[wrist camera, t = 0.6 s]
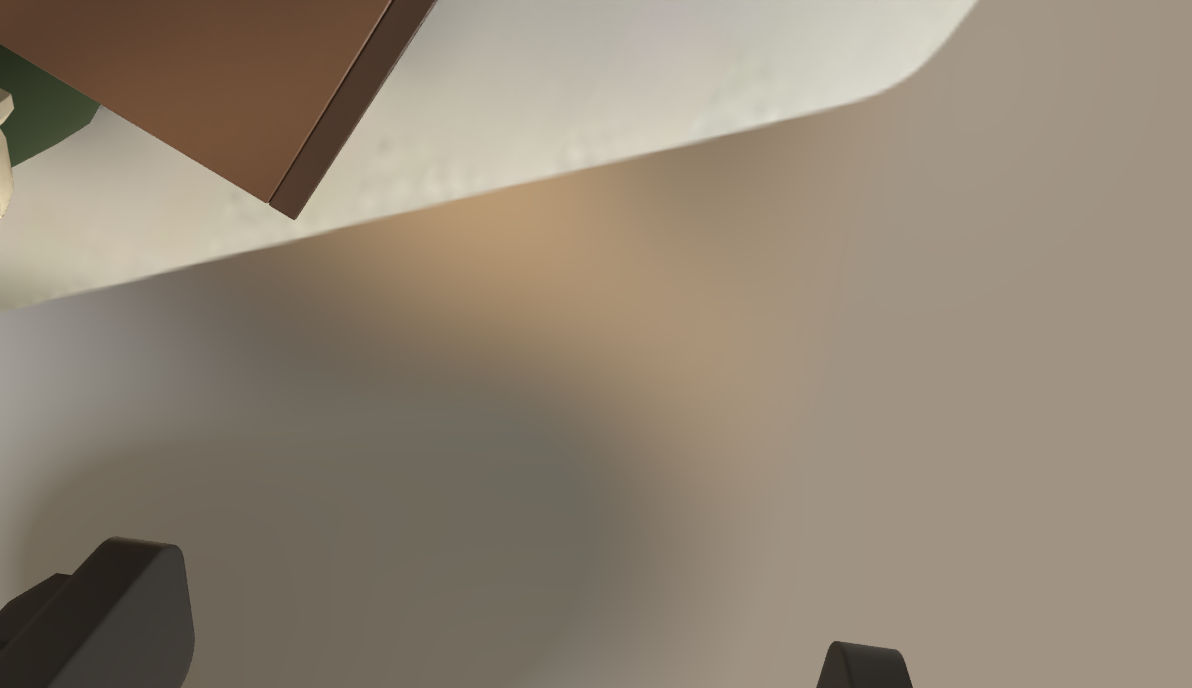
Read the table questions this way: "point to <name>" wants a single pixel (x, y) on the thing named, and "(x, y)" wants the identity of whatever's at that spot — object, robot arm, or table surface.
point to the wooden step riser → (227, 75)
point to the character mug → (34, 114)
